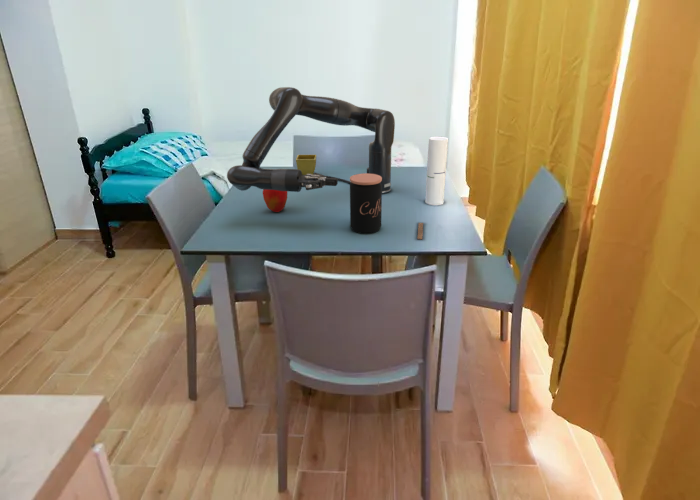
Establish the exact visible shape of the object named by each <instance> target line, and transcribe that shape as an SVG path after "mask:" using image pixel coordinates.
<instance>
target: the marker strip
mask: <svg viewBox="0 0 700 500" xmlns="http://www.w3.org/2000/svg"><path fill="white" fill-rule="evenodd" d="M423 235H424V222H418V228H417V237H416V239H417V240H420V241H421V240H422V241H423Z"/></svg>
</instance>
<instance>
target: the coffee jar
mask: <svg viewBox="0 0 700 500" xmlns="http://www.w3.org/2000/svg"><path fill="white" fill-rule="evenodd" d="M349 181H350V182H351V184H349V210H350V211H349V212H350V213H349V220H350V221H349V223H350V225H349V226H350V228H351V229H352V231H353V232H354V233H358V234H363V235H364V234H366V235H368V234H374V233H377V232H379V230H380V229H381V227H382V207H383V204H382V203H383V202H382V201H383V200H382V199H383V193H382V185H381V183H380V182H381V181H382V177H381V176H379V175H376V174H369V173H367V172H364V173H356V174H353V175H351V176H350V177H349Z"/></svg>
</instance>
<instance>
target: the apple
mask: <svg viewBox="0 0 700 500" xmlns="http://www.w3.org/2000/svg"><path fill="white" fill-rule="evenodd" d="M262 196H263V197H262V198H263V201H264V203H265V205H266V207H267V209H268V210H269V211H271V212H273V213H279V212H282V211H283V210H284V208H285V207H286V204H287V200H288V191H277V190H265V189H262Z"/></svg>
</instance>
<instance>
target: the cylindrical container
mask: <svg viewBox="0 0 700 500" xmlns="http://www.w3.org/2000/svg"><path fill="white" fill-rule="evenodd" d="M427 145H428V146H427V160H426V161H427V163H426V180H425V181H426V182H425V198H424V202H425V204H426V205H429V206H440V205H441V206H442V205H444V203H445V202H444V201H445V190H446V189H445V188H446V176H447V163H448V162H447V161H448V148H449V137H446V136H436V135H435V136H430V137H428V144H427Z"/></svg>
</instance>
